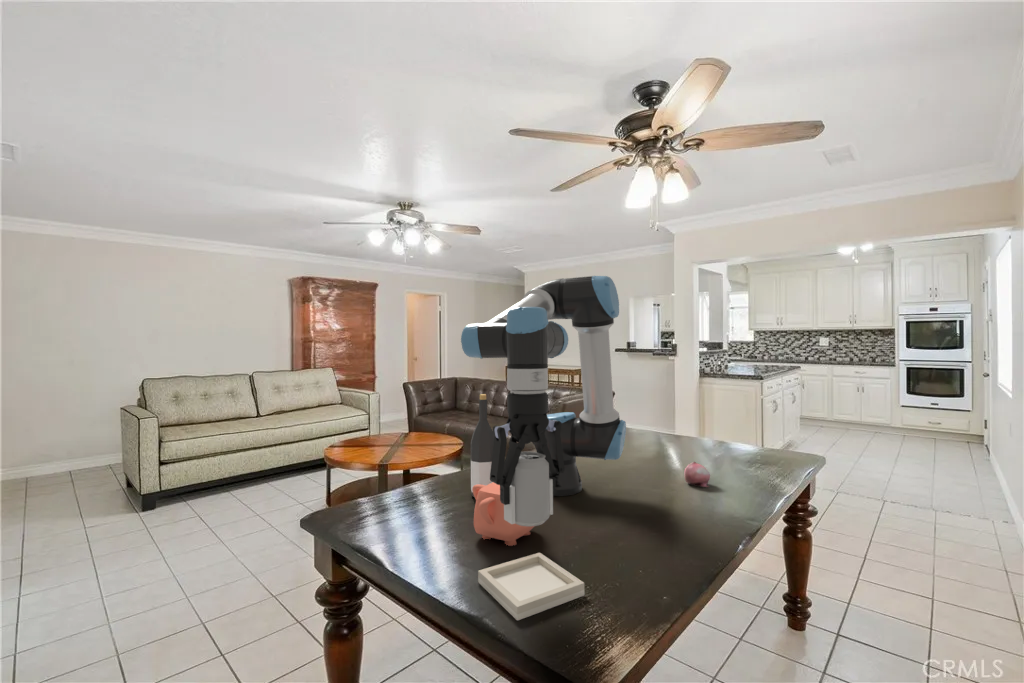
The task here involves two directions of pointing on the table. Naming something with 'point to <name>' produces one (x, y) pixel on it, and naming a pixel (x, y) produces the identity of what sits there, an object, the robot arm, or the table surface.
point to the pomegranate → (696, 475)
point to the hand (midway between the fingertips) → (528, 516)
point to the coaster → (530, 585)
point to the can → (531, 489)
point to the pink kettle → (494, 516)
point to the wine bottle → (481, 448)
